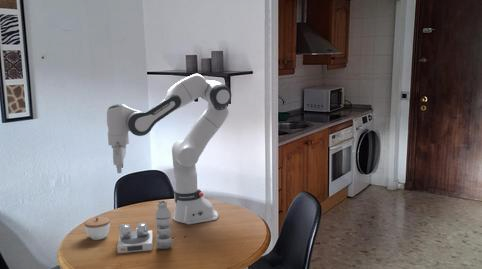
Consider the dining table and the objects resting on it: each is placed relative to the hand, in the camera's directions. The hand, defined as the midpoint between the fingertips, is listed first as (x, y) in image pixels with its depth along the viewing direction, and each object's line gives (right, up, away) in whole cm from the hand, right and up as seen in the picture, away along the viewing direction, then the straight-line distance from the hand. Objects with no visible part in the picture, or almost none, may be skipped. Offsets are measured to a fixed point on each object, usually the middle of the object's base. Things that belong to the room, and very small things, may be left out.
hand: (120, 170), depth 192 cm
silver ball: (+12, -27, -10) cm, 32 cm away
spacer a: (+5, -28, -12) cm, 30 cm away
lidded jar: (-9, -30, -2) cm, 32 cm away
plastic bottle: (+23, -32, -14) cm, 41 cm away
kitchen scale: (+10, -31, -10) cm, 34 cm away
